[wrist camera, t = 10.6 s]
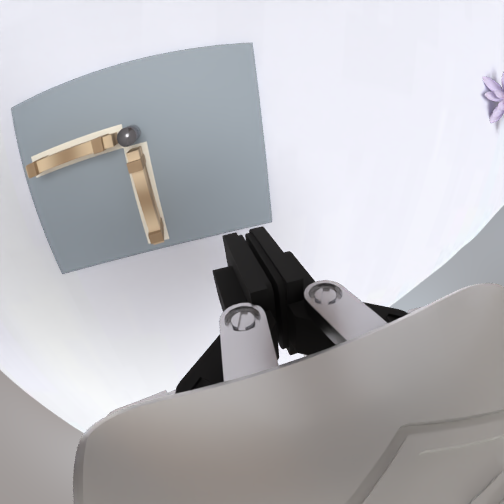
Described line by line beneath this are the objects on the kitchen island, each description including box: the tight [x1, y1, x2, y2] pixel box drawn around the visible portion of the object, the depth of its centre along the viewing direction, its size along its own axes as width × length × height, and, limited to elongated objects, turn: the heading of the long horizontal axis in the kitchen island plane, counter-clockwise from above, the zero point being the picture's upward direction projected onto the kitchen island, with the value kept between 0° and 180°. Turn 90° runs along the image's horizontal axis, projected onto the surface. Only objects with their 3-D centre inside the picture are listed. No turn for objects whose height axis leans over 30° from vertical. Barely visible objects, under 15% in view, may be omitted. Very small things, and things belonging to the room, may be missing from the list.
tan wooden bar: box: [126, 146, 164, 245], centre depth 28 cm, size 10×1×4 cm, turn 11°
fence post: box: [117, 125, 141, 147], centre depth 25 cm, size 2×2×6 cm
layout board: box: [11, 43, 272, 274], centre depth 28 cm, size 28×22×1 cm
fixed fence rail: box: [25, 132, 118, 179], centre depth 23 cm, size 10×1×4 cm, turn 99°
